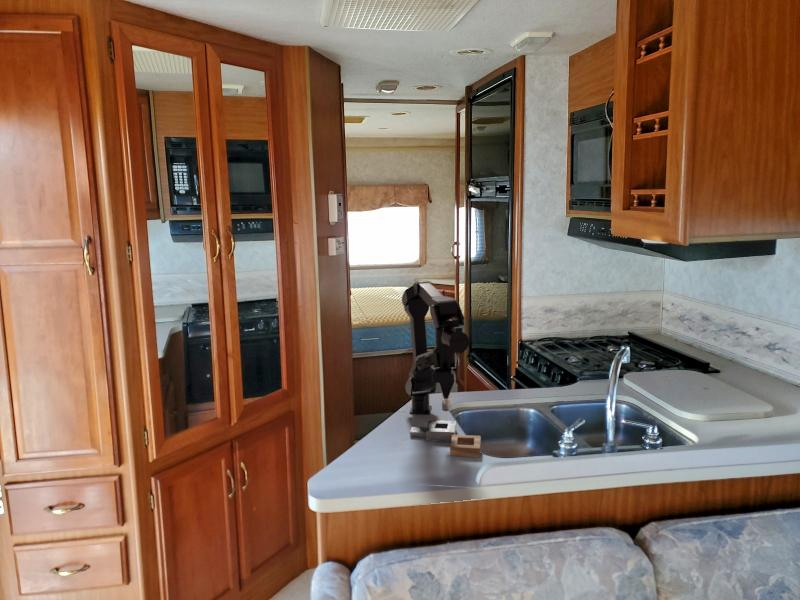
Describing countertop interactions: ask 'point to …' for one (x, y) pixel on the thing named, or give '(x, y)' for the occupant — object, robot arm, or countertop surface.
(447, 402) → the hitch pin
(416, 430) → the block
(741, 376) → the countertop surface
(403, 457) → the countertop surface
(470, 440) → the frame
